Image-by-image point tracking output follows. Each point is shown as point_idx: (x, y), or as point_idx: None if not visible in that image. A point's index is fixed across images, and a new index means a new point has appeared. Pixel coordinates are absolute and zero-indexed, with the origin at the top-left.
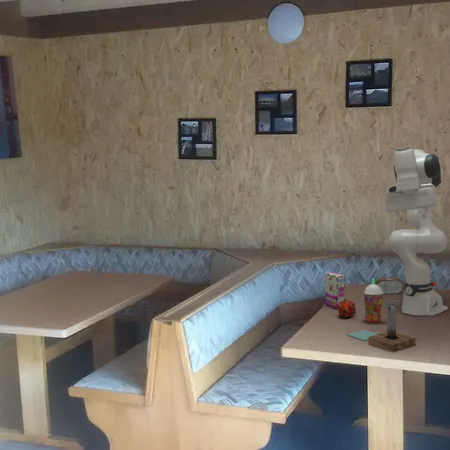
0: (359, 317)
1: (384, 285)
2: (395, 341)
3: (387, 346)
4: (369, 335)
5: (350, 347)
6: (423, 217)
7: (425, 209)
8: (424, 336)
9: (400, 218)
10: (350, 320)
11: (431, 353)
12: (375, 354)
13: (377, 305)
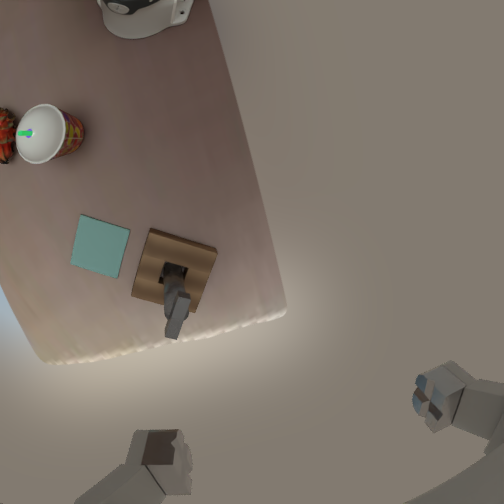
0: None
1: None
2: (190, 294)
3: None
4: (109, 246)
5: (116, 320)
6: (426, 409)
7: (492, 446)
8: (212, 182)
9: (171, 486)
10: None
11: (256, 275)
12: None
13: (68, 147)
